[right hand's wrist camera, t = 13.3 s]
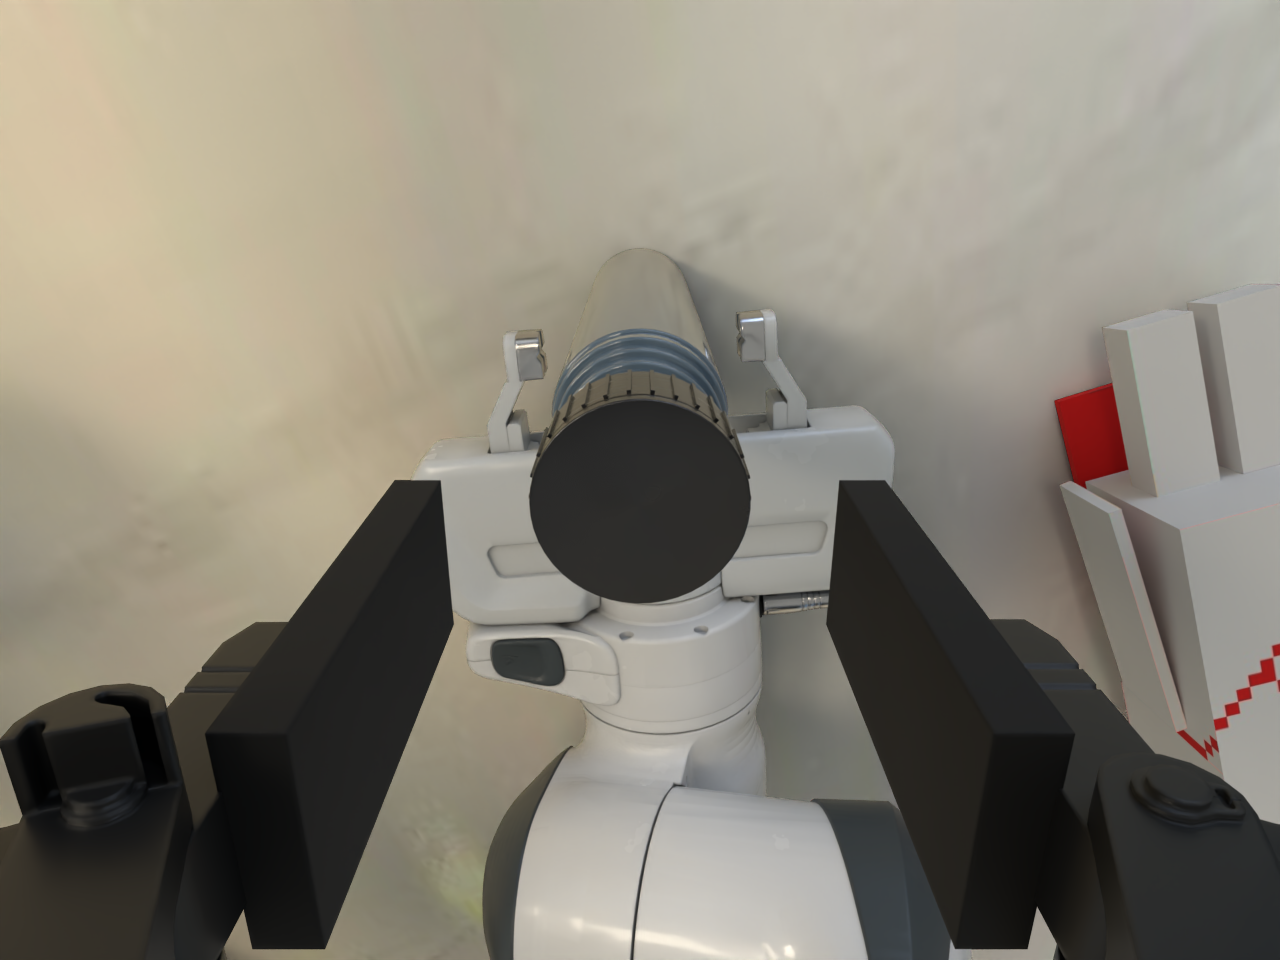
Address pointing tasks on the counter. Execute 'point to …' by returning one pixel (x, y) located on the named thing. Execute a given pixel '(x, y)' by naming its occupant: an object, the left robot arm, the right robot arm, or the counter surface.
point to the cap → (640, 488)
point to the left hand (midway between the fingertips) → (638, 322)
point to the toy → (1189, 529)
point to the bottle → (640, 328)
